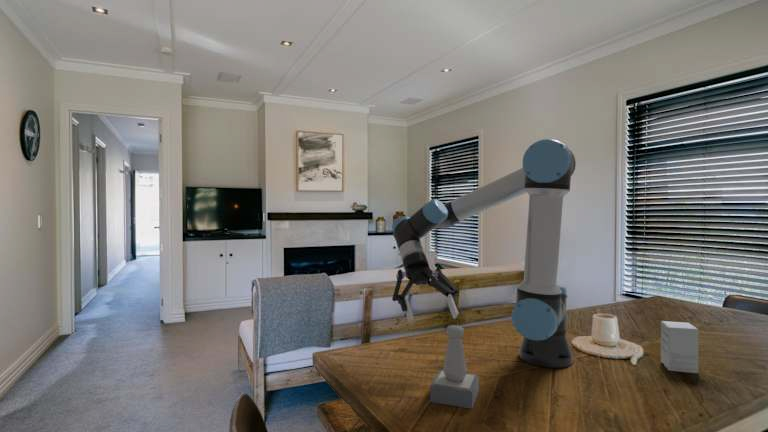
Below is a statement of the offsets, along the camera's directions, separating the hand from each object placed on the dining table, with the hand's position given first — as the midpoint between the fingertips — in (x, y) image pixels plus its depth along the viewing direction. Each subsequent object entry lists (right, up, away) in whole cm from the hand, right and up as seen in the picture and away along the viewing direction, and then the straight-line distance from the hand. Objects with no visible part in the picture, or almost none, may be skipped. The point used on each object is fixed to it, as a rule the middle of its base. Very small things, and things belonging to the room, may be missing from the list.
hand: (434, 318), depth 116 cm
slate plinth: (+4, -16, -13) cm, 21 cm away
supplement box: (+71, -16, +5) cm, 73 cm away
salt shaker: (+3, -12, -13) cm, 18 cm away
